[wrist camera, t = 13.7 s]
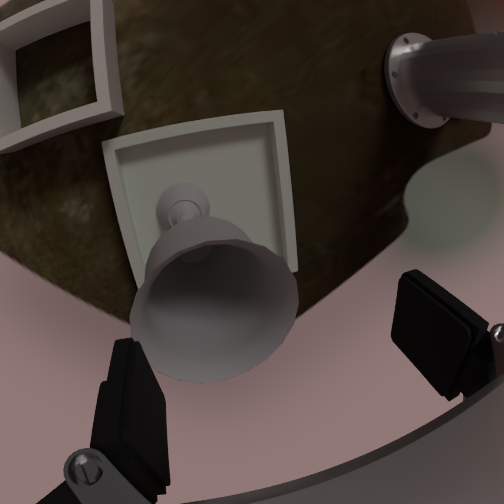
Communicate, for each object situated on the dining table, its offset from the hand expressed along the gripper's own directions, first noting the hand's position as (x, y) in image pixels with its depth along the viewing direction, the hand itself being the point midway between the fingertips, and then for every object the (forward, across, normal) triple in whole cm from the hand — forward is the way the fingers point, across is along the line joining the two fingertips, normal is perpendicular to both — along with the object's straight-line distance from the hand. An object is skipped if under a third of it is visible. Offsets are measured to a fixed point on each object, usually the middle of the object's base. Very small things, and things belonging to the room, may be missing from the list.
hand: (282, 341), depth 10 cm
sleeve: (+21, +13, -16) cm, 30 cm away
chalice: (+21, +3, 0) cm, 21 cm away
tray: (+22, +1, 0) cm, 22 cm away
